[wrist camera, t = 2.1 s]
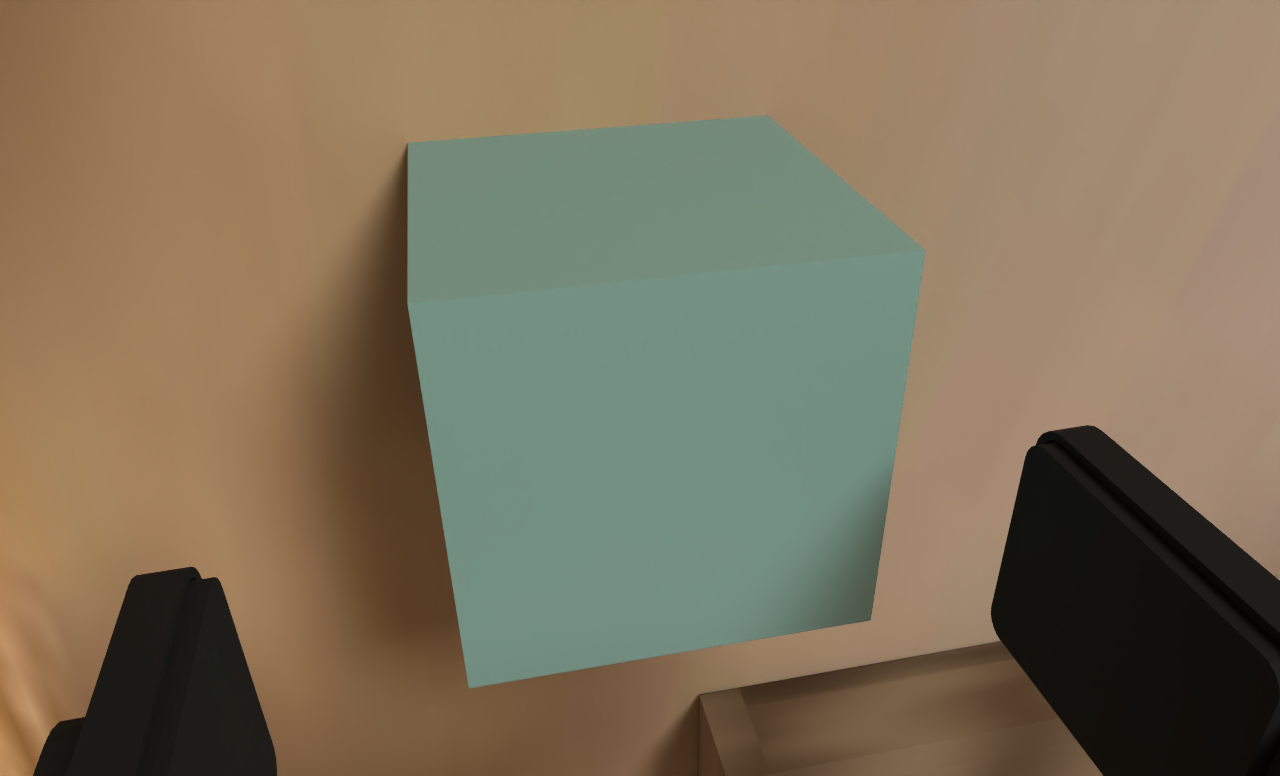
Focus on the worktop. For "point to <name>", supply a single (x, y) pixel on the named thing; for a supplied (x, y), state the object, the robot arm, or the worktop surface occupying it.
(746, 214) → the teal cube
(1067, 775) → the walnut tray
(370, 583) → the worktop surface
